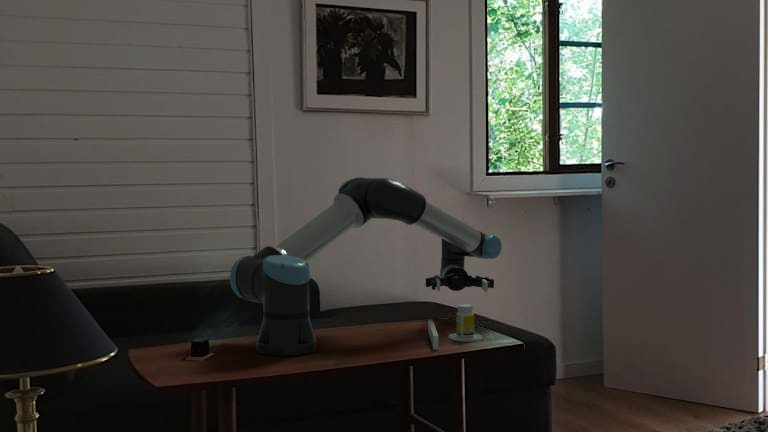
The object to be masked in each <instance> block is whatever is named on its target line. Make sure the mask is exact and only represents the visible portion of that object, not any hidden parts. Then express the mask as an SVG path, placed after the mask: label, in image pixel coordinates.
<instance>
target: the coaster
mask: <svg viewBox="0 0 768 432" xmlns="http://www.w3.org/2000/svg"><path fill="white" fill-rule="evenodd" d="M448 339H449V341H455V342H464V343H469V342H470V343H472V342H479V341H482V339H483V335H481V334H478V333H474V336H473V337H458V336H457V332H455V333H454V332H453V333H450V334H449V335H448Z"/></svg>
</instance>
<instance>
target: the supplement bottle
mask: <svg viewBox="0 0 768 432" xmlns="http://www.w3.org/2000/svg"><path fill="white" fill-rule="evenodd" d="M473 310H474V309H473V305H472V304H467V303H466V304H465V303H464V304H458V305H457V313H456V333H457V336H458V337H473V336H474V334H475V314H474V313H475V312H473Z"/></svg>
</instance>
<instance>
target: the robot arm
mask: <svg viewBox="0 0 768 432" xmlns="http://www.w3.org/2000/svg"><path fill="white" fill-rule="evenodd" d="M337 191H338V193H337V194H336V195H335V196H334V197H333V203H332V205H330V206H327V208H325V209H324V210H323V211H321V212H320V213H319V214H317V215H316V216H315V217H314V218H312V219H311V220H310V221H308V222H306V224H304V225H302V226H300V228H299V229H297V230H296V231H294V232H293V233H292V234H291V235H289V236H288V237H286V238H285V239H284V240H282V241H281V242H280V243H278V244H277V245H275V246H272V245H267V246H265V247H263V248H262V249H261V250H260V251H258V252H256V253H255V254H254V255H245V256H242V257H240V258H239V259H237V260H236V261H235V262H234V263H233V265H232V267H231V269H230V275H229V283H230V284H229V285H230V287H231V289H232V290H233V292H234V293H235V295H236V296H238V297H239V298H242V299H244V300H245V301H247V302H253V303H259V304H263V305H262V307H263V309H262V311H263V314H262V315H263V316H262V317H263V318H262V323H261V326H260V329H259V332H258V336H257V339H256V344H255V345H256V346H255V348H256V352H257V353H259V354H262V355H268V356H276V357H277V356H279V357H284V356H285V357H289V356H292V357H293V356H301V355H306V354H310V353H314V352H315V351H316V350H317V339H316V335H315V331H314V329H313V326H312V323H311V319H310V298H311V297H310V294H311V293H310V289H311V288H310V286H311V285H310V284H311V283H310V282H311V270H310V265H309V261H310V260H311V259H312V258H314V257H316V255H318V254H319V253H321V252H322V251H323V250H324V249H325V248H327V247H328V246H329V245H331V244H332V243H334V242H335V241H336V240H337V239H338V238H340V237H341V236H342V235H344V234H345V233H346V232H348V230H350V229H351V228H353V229H359V228H361V227H362V226H364V225H365V224H366V223H368V222H369V221H370V220H372V219H381V220H382V219H383V220H384V219H385V220H393V221H399V222H402V223H404V224H406V225H409V226H410V225H415V226H417V227H419V228H420V229H422V230H425V231H427V232H429V233H430V234H432V235H434V236H437V237H438V238H440V239H441V260H440V270H439V274H436V275H434V276H429V277H426V278H425V288H430V287H431V291H435V290H436V291H437V292H440V291H441V287H446V288H447V289H449V290H450V291H454V292H461V291H463V290H464V289H465V288H471V287H475V288H481V289H482V290H483V291H484V292H485V293H487V292H488V291H489V290H488V289H494V288H495V279H493V278H489V276H485V277H483V276H481V275H475V276H474V277H473V276H472V275H469V274H468V272H467V271H466V270H465V260H466V259H465V257H467V258H468V257H469V258H477V259H484V260H494V259H497V258H498V257H499V256H500V254H501V252H502V241H501V239H500V237H498V236H497V235H494V234H491V233H488V234H487V233H484V232H483V231H480V230H478V229H476V228H474V227H473V226H471V225H469V224H468V223H466V222H464V221H462V220H460V219H459V218H457V217H455V216H454V215H451V214H450V213H448V212H446V211H445V210H442V209H441V208H439V207H438V206H436V205H434V204H432V203H431V202H429V201H427V199H426V196H425V195H423V194H421V193H420V192H418V191H417V190H414V189H413V188H411V187H410V186H408V185H405V184H404V183H401V182H399V181H397V180H394V179H392V178H386V177H385V178H384V177H379V178H378V177H375V178H374V177H370V178H369V177H354V178H350V179H347V180H345V181H344V182H343V183H342V184H341V185H340V186H339V188H338V190H337Z"/></svg>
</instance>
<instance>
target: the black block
mask: <svg viewBox="0 0 768 432" xmlns="http://www.w3.org/2000/svg"><path fill="white" fill-rule="evenodd" d="M209 340H210V339H209V338H203V337H202V338H200V337H199V338H198V337H197V338H195V339H193V340H191V342H190V343H191V344H190V355H191V356H190V355H189V356H190V357H203V356H206V355H208V354H211V353H209V352H210V342H209Z"/></svg>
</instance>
